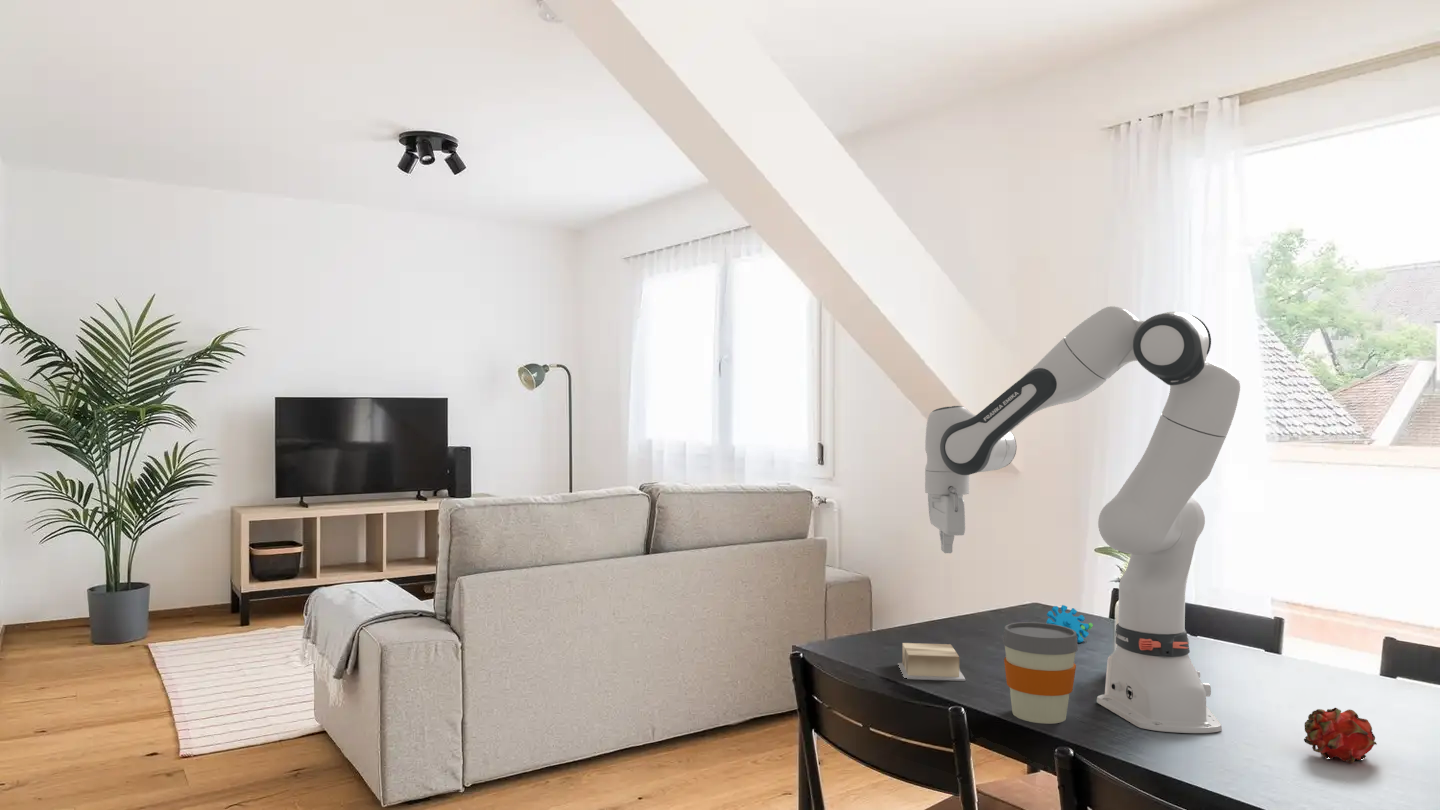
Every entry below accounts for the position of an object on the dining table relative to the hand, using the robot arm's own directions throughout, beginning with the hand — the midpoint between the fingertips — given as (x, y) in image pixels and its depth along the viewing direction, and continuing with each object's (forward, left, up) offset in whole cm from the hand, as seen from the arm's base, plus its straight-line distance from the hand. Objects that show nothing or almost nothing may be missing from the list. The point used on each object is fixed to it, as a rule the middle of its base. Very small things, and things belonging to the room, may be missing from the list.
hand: (946, 552), depth 196 cm
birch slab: (+4, +3, -22) cm, 22 cm away
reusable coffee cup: (-28, -12, -24) cm, 39 cm away
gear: (+30, -34, -25) cm, 51 cm away
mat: (-2, +3, -24) cm, 25 cm away
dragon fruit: (-44, -54, -25) cm, 73 cm away
